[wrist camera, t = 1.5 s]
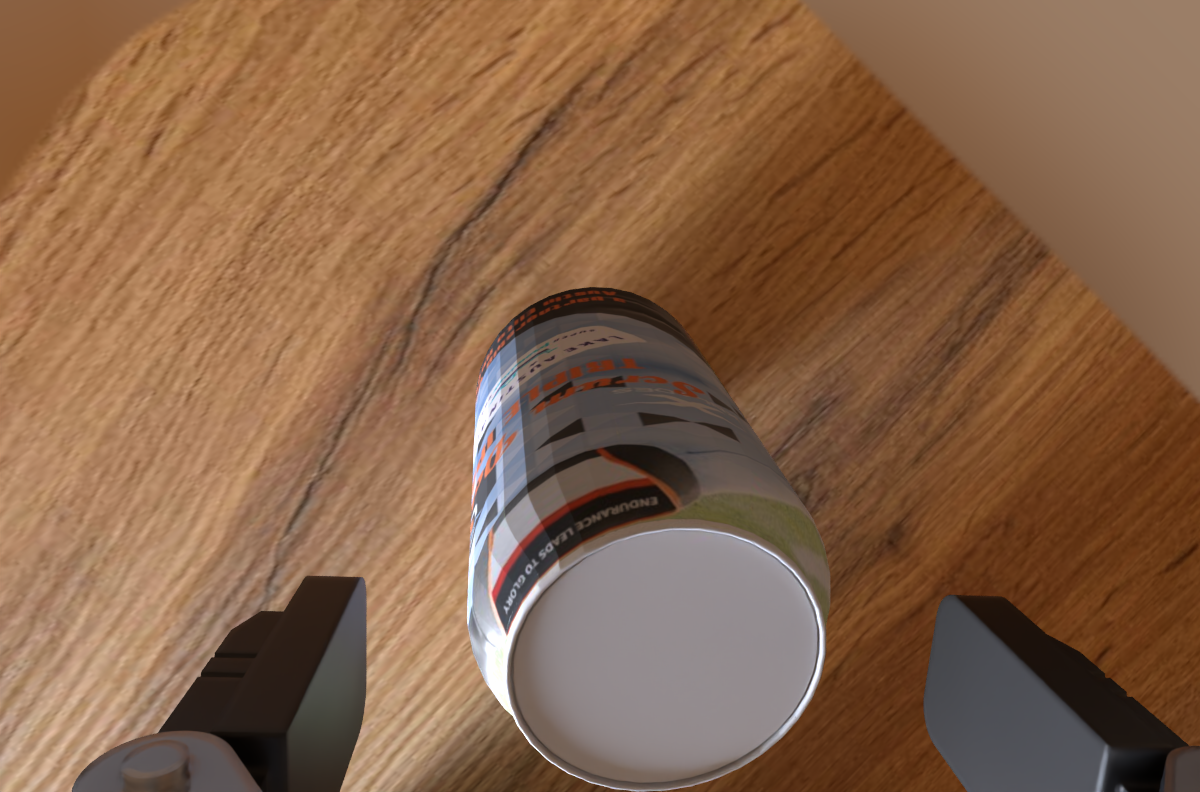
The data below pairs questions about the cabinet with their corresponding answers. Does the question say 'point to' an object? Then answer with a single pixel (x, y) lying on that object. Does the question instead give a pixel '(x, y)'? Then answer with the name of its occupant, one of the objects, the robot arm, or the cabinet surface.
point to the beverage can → (635, 551)
